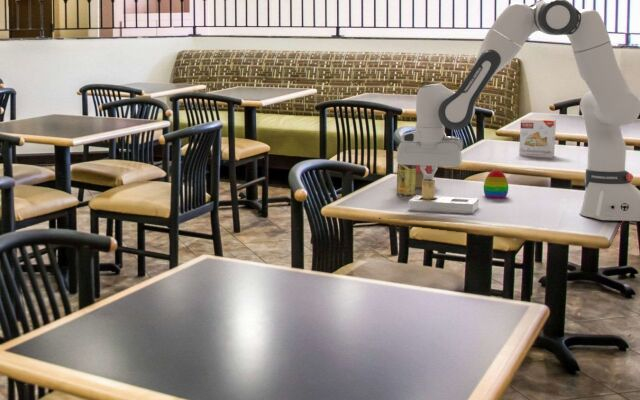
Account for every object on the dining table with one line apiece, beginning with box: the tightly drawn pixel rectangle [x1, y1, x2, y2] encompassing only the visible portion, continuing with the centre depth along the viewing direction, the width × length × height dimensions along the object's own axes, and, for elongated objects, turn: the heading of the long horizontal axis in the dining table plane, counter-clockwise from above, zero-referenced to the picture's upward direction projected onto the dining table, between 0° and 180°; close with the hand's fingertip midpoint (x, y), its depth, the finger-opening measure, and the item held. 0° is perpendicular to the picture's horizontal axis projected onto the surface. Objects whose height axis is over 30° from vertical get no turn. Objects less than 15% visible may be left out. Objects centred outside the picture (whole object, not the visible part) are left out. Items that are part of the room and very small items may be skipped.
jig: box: [408, 194, 479, 215], centre depth 292 cm, size 20×12×3 cm, turn 73°
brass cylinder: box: [421, 179, 436, 200], centre depth 293 cm, size 4×4×9 cm
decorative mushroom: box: [415, 165, 438, 189], centre depth 327 cm, size 13×13×15 cm
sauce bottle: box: [396, 141, 416, 197], centre depth 312 cm, size 7×6×20 cm
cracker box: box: [518, 118, 557, 159], centre depth 396 cm, size 14×6×21 cm, turn 67°
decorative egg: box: [483, 169, 509, 200], centre depth 312 cm, size 8×8×10 cm
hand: (428, 179), depth 292 cm, fingers closed, pressing on brass cylinder
